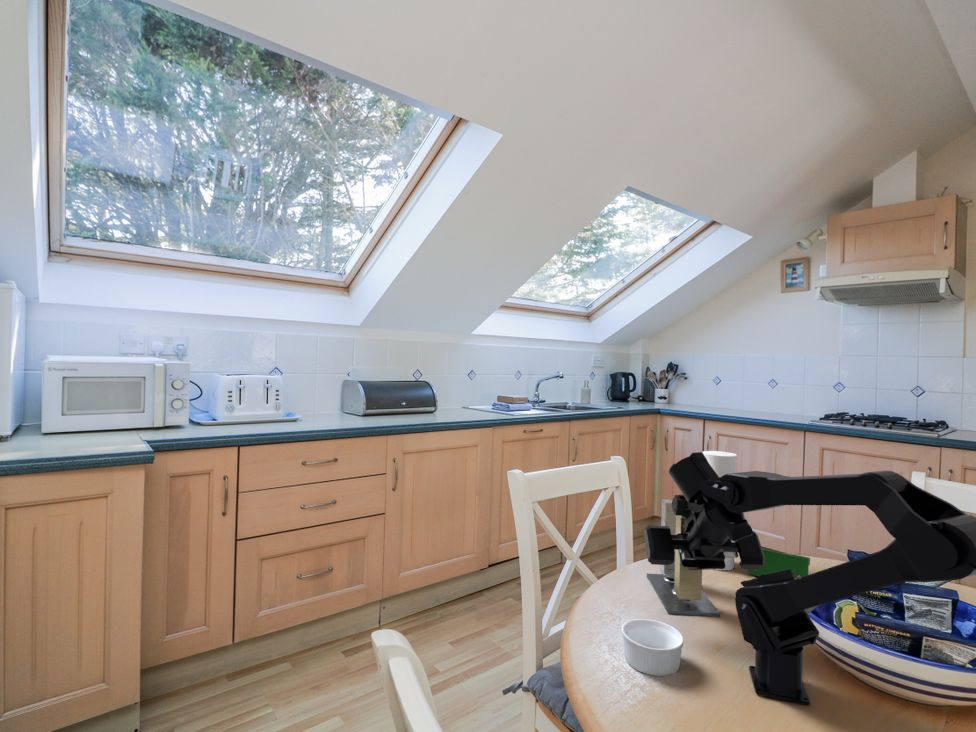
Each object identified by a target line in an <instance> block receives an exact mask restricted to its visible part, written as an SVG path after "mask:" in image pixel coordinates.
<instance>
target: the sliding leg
mask: <svg viewBox="0 0 976 732" xmlns="http://www.w3.org/2000/svg"><path fill="white" fill-rule="evenodd" d="M685 521H686V520H685V518H684V517H682V516H677V515H676V535H677V534H679V533H680V534H688V532H685V531H684V527H683V525H684V523H685ZM702 585H703V570H688V567H683V566H682V565H681V562H680V557H679V552H678V550H676V549H675V580H674V593H675V594H676V596H677V597H678V599H684V600H686V601H690V600H701V595H702V591H703V589H702Z"/></svg>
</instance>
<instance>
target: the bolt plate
mask: <svg viewBox="0 0 976 732" xmlns="http://www.w3.org/2000/svg"><path fill="white" fill-rule="evenodd" d="M672 500H673V499H664V498H663V499H661V517H660V518H661V519H660V520H661V521H660V523H661V525H660V526H668V527H669V528H670V531H671V535H676V515H675V514H674V512H673V509H672ZM674 551H675V549H674ZM659 571H660V573H661V574H660V573H646V579H648V581H649V583H650V585H651V586H652V587H651V588H653V590H654V592H655V594H656V595H657V597H658V598H659V600H660V602H661V604H662V605H663V608H664V609H665V611H666V613H667V614H668V615H684V616H699V617H716V618H718V617H719V618H720V617H721V613H720V611H719V610H718V608H717V607H715V605H714V604H713V602H712V601H711V599H709V597H708V596H707V595H706V594H705V591H703V590H702V595H701V600H690V601H686V600H684V599H678V597H677V596H676V594H675V593H674V580H675V561H674V563H673V564H670V565H659Z"/></svg>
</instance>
